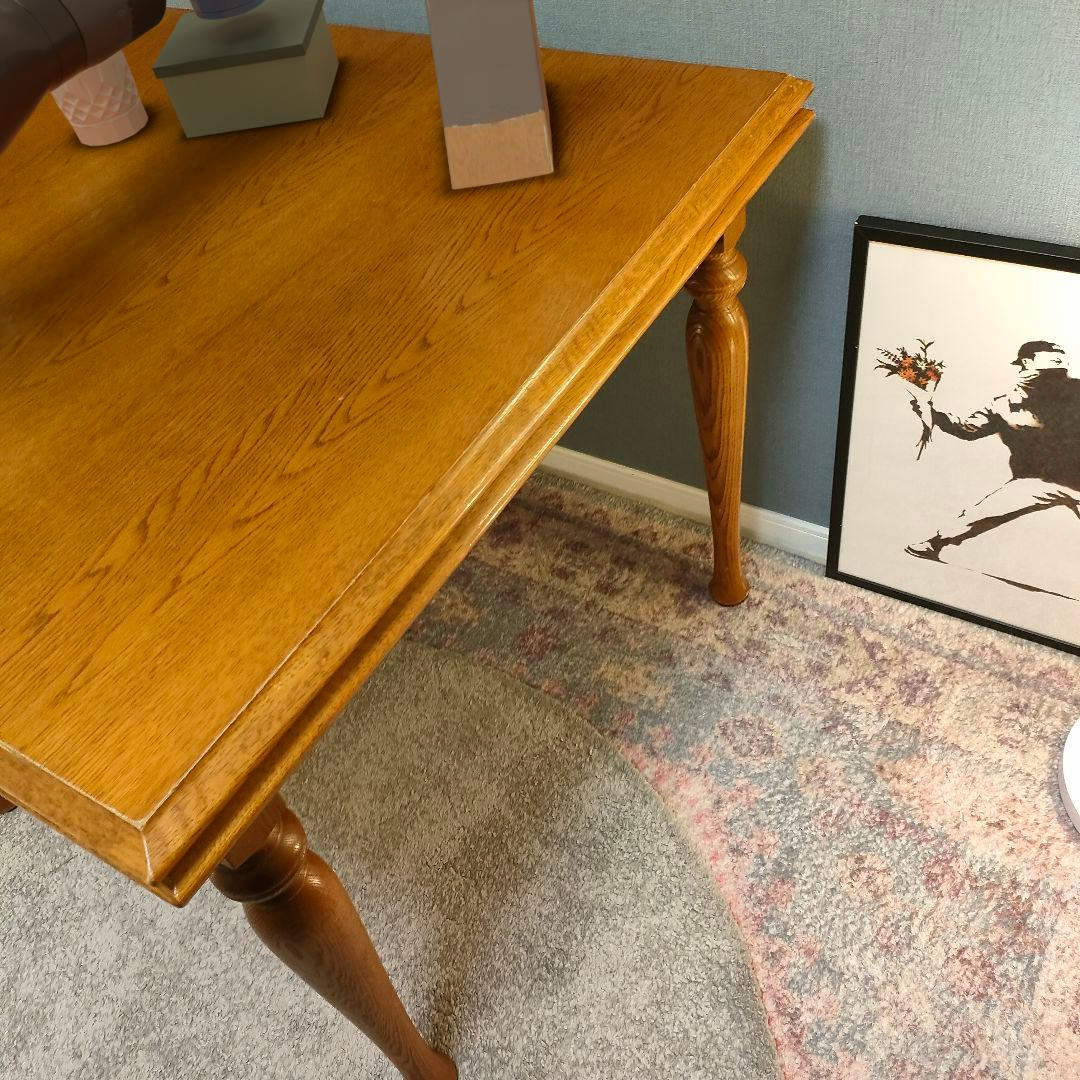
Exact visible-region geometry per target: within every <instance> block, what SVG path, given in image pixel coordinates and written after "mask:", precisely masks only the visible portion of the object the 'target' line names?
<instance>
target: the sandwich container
mask: <svg viewBox="0 0 1080 1080" xmlns="http://www.w3.org/2000/svg"><path fill="white" fill-rule="evenodd" d="M424 1H425V2H424V3H425V10H426V11H425V12H426V16H427V17H426V18H427V23H428V31H429V38H430V45H431V50H432V57H433V58H432V59H433V65H434V72H435V79H436V86H437V92H438V99H439V106H440V112H441V113H440V114H441V119H442V120H441V121H442V128H443V134H444V141H445V147H446V154H447V155H446V156H447V162H448V169H449V177H450V183H451V189H452V190H460V189H467V188H473V187H481V186H487V185H494V184H500V183H501V184H502V183H507V182H511V181H518V180H523V179H529V178H533V177H538V176H544V175H549V174H552V173H554V172H555V169H554V153H553V152H554V151H553V138H552V128H551V121H550V120H551V119H550V107H549V103H548V96H547V89H546V82H545V75H544V69H543V63H542V57H541V56H542V55H541V49H540V42H539V34H538V28H537V27H538V26H537V20H536V15H535V13H536V12H535V7H534V1H533V0H424Z"/></svg>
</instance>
